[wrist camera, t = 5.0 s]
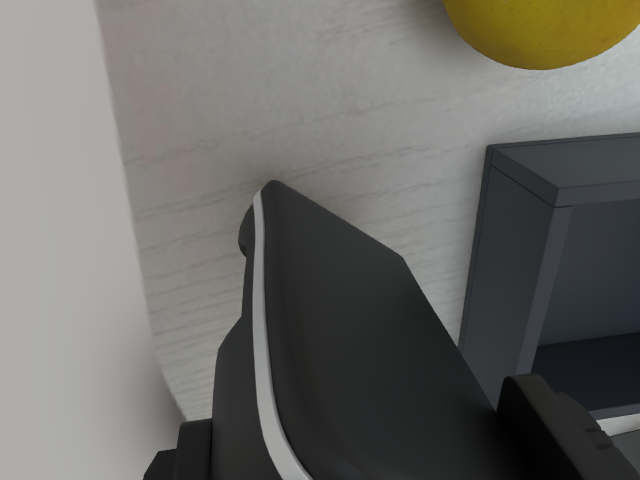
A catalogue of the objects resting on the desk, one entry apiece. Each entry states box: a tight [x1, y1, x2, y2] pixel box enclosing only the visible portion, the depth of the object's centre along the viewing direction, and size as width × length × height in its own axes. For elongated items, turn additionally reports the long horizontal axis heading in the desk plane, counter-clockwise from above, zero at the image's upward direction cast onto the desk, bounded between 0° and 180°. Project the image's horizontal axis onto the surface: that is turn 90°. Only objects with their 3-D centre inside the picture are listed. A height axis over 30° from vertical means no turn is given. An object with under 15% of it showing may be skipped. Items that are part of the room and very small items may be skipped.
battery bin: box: [458, 133, 640, 420], centre depth 23 cm, size 14×14×6 cm
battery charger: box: [211, 180, 534, 480], centre depth 13 cm, size 7×4×11 cm, turn 54°
